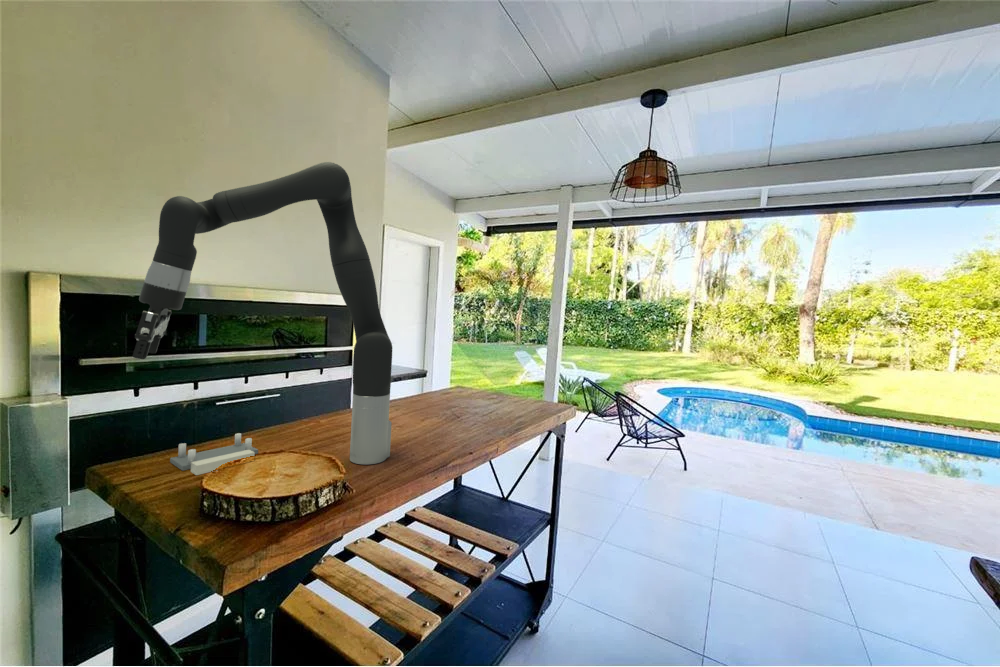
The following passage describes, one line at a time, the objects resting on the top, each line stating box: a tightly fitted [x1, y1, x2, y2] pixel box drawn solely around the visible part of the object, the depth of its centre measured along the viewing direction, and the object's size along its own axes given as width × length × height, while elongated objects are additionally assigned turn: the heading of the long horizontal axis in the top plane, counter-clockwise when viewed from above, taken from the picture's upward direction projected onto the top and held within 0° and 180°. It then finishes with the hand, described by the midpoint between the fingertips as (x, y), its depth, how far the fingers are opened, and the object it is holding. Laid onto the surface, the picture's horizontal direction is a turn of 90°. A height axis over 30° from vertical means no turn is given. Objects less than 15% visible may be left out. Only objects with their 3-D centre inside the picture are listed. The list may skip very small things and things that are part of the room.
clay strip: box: [190, 450, 256, 476], centre depth 94 cm, size 12×3×2 cm, turn 146°
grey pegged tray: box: [169, 432, 259, 472], centre depth 99 cm, size 16×8×4 cm, turn 146°
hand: (144, 355), depth 89 cm, fingers open, 8 cm apart
